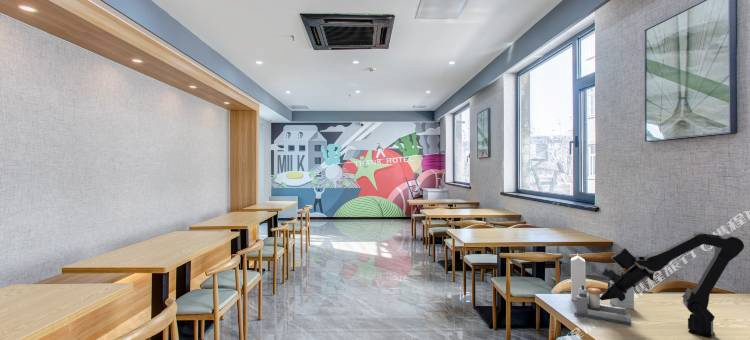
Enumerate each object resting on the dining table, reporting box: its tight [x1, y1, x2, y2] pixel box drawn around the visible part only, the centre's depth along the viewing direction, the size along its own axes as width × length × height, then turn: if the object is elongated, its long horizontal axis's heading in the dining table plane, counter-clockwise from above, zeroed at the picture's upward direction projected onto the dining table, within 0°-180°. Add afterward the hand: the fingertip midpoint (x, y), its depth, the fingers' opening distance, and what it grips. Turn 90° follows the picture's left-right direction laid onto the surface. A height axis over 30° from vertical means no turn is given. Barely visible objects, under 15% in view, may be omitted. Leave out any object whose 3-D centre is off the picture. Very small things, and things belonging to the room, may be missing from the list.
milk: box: [570, 252, 587, 302], centre depth 179 cm, size 6×6×22 cm
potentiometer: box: [579, 285, 588, 296], centre depth 161 cm, size 3×3×4 cm
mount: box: [573, 291, 632, 327], centre depth 157 cm, size 20×10×8 cm, turn 57°
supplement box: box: [609, 280, 635, 309], centre depth 170 cm, size 7×7×13 cm
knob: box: [587, 287, 602, 311], centre depth 159 cm, size 5×6×9 cm
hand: (600, 299), depth 157 cm, fingers closed, pressing on knob
